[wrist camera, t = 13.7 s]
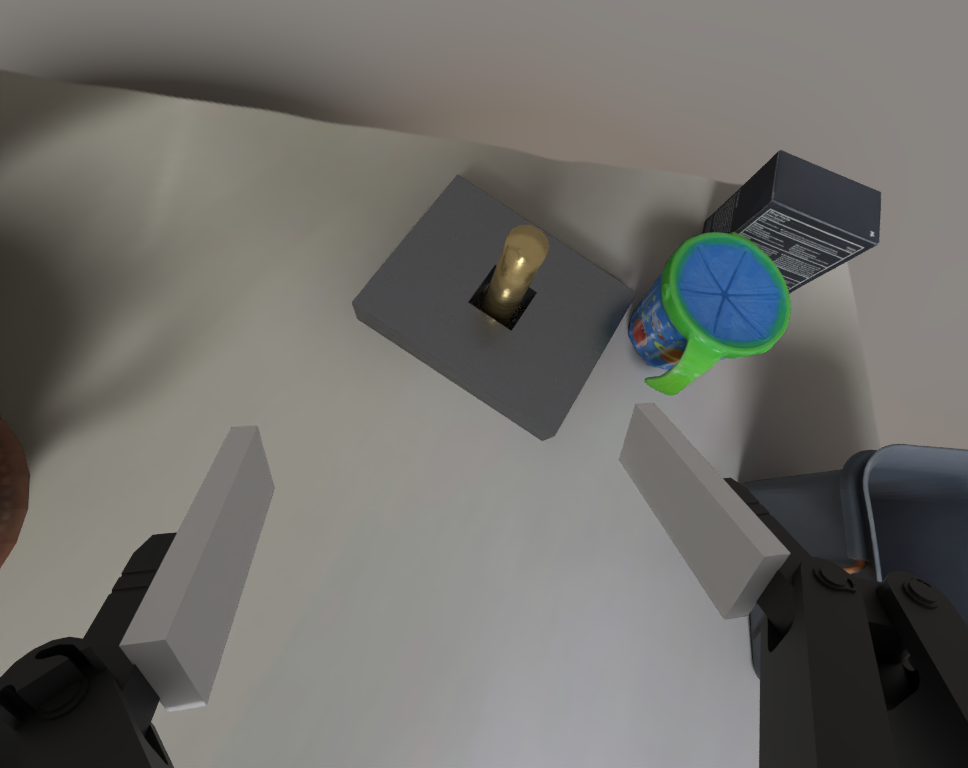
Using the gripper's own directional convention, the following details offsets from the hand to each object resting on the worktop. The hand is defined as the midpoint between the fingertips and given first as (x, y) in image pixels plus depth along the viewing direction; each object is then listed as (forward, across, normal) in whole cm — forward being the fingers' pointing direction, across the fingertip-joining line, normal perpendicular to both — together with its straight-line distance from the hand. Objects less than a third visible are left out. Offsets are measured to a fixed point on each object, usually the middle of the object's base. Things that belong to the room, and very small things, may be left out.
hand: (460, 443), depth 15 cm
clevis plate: (+26, +7, -6) cm, 27 cm away
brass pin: (+26, +7, -6) cm, 27 cm away
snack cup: (+24, +24, -8) cm, 34 cm away
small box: (+30, +36, -2) cm, 46 cm away
